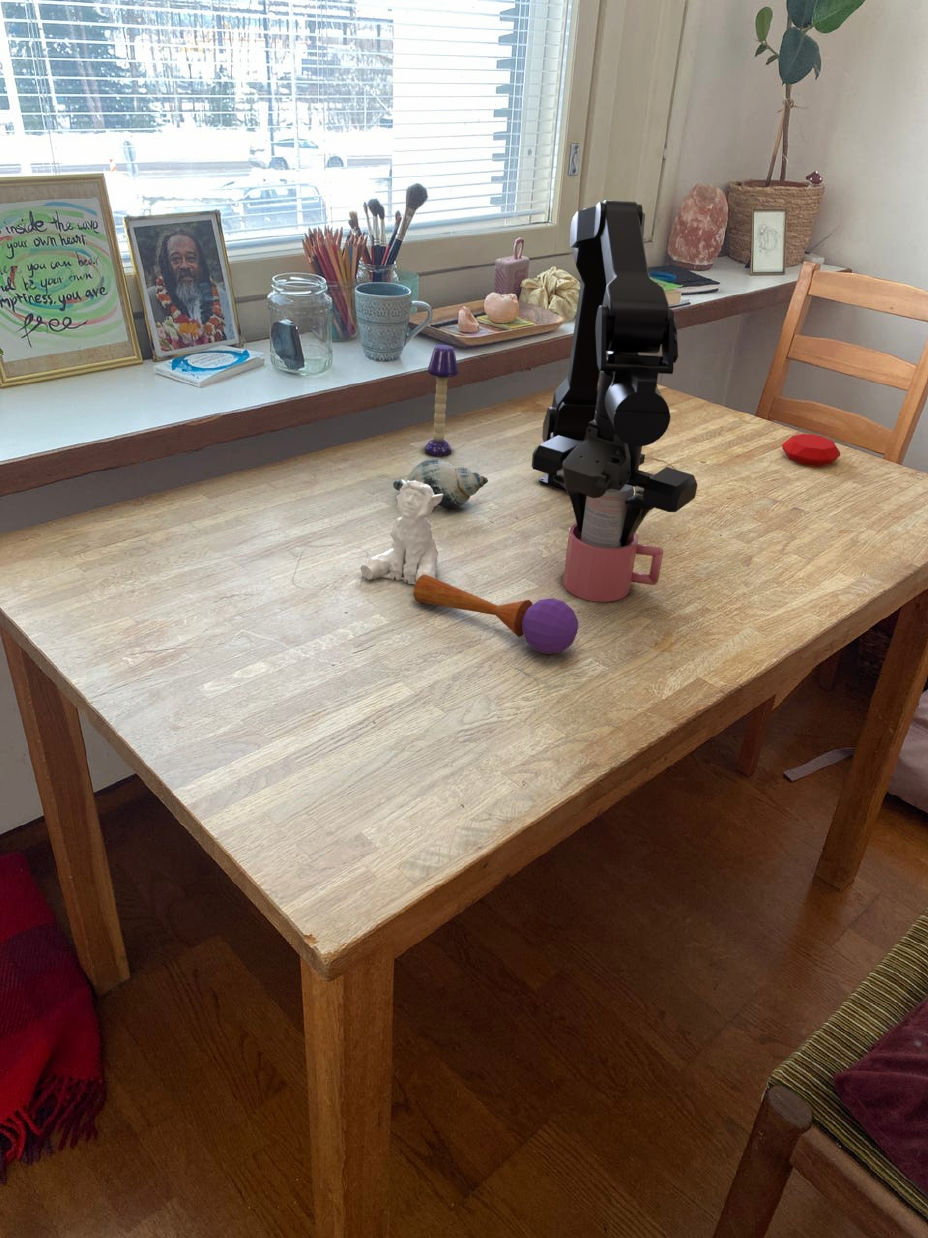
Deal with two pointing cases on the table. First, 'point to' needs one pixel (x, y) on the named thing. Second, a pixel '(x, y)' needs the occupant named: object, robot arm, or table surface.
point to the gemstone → (811, 450)
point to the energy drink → (606, 518)
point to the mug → (606, 568)
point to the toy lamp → (441, 395)
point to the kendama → (510, 614)
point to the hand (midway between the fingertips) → (602, 538)
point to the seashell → (446, 481)
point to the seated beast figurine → (409, 538)
